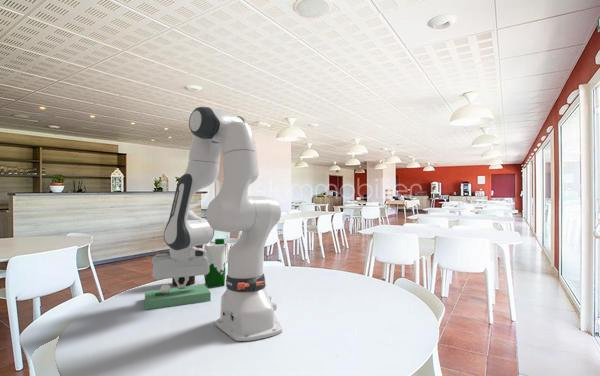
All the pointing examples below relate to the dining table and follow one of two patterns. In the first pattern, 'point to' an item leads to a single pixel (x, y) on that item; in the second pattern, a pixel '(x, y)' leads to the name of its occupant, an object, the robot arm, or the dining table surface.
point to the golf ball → (165, 288)
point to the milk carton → (215, 263)
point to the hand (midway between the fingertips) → (181, 288)
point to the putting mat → (176, 297)
